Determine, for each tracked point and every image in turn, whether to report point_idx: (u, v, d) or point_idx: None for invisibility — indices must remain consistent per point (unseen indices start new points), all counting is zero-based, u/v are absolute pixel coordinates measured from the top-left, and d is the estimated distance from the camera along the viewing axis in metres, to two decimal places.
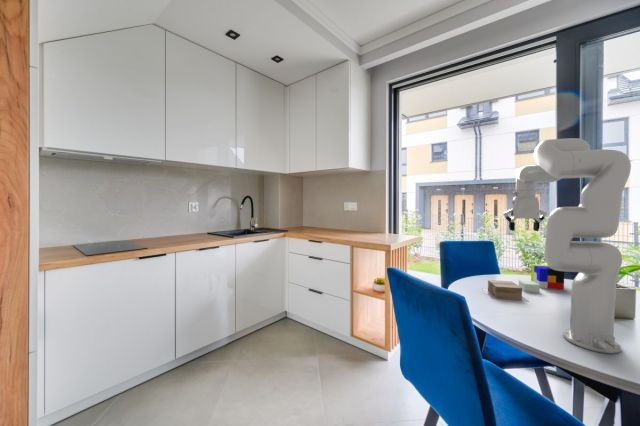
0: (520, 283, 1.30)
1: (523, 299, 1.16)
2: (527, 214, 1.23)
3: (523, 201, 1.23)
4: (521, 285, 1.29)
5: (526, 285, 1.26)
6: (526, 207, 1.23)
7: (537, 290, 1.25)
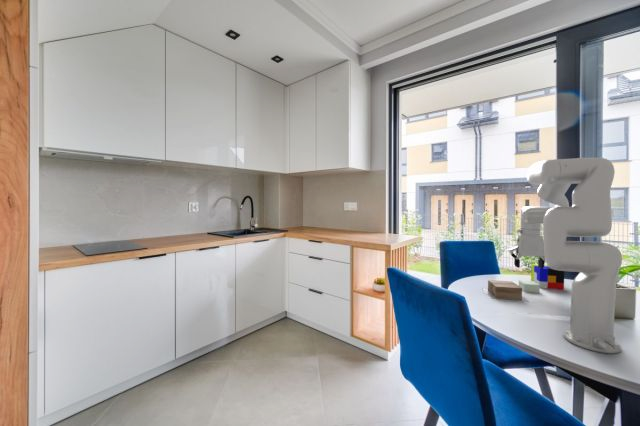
0: (520, 283, 1.30)
1: (523, 299, 1.16)
2: (532, 252, 1.25)
3: (528, 240, 1.25)
4: (521, 285, 1.29)
5: (526, 285, 1.26)
6: (531, 245, 1.25)
7: (537, 290, 1.25)
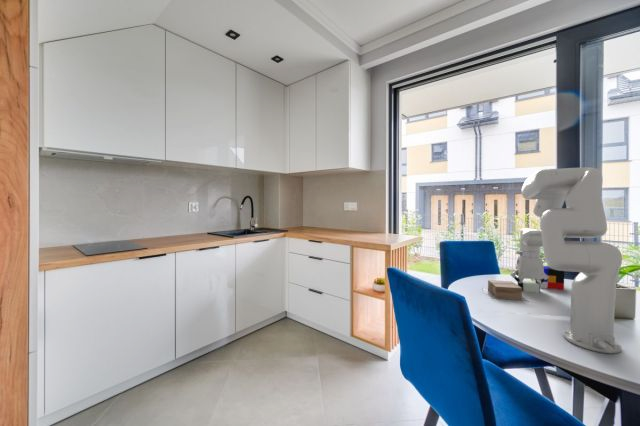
0: None
1: (523, 299, 1.16)
2: (532, 275, 1.26)
3: (528, 262, 1.26)
4: None
5: (526, 285, 1.26)
6: (530, 268, 1.26)
7: (537, 290, 1.25)
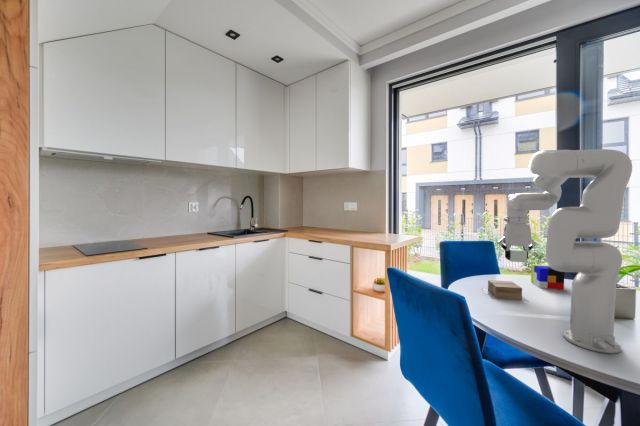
0: None
1: (523, 299, 1.16)
2: (519, 241, 1.21)
3: (515, 228, 1.22)
4: None
5: (513, 252, 1.22)
6: (518, 234, 1.21)
7: (524, 257, 1.21)
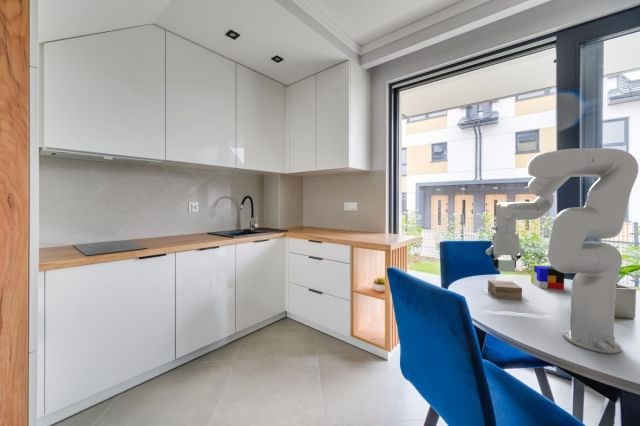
0: None
1: (523, 299, 1.16)
2: (507, 251, 1.19)
3: (503, 238, 1.19)
4: None
5: (501, 261, 1.20)
6: (506, 243, 1.19)
7: (512, 266, 1.19)
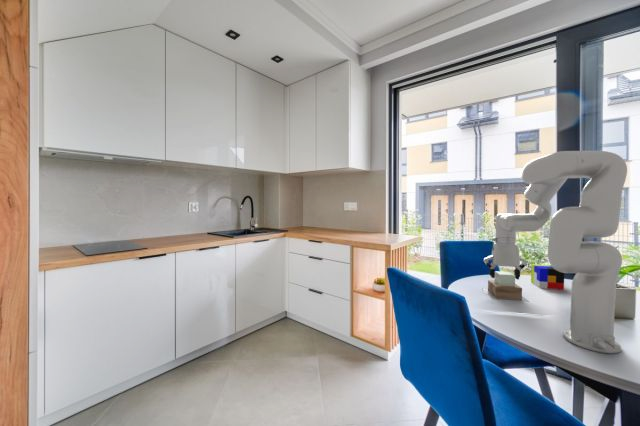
0: (496, 274, 1.24)
1: (523, 299, 1.16)
2: (507, 262, 1.19)
3: (503, 249, 1.19)
4: (497, 276, 1.23)
5: (501, 276, 1.20)
6: (506, 255, 1.19)
7: (513, 281, 1.19)
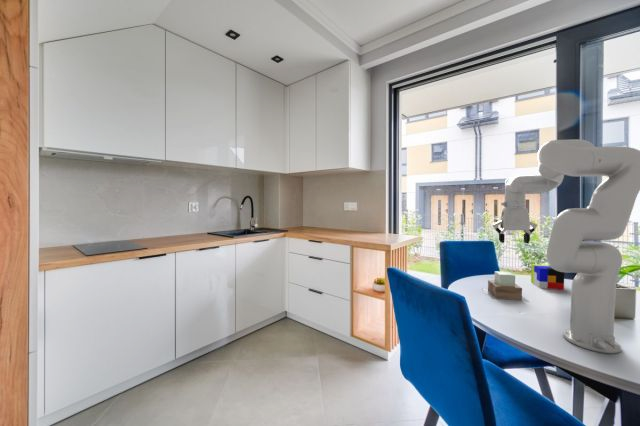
0: (496, 274, 1.24)
1: (523, 299, 1.16)
2: (517, 226, 1.18)
3: (513, 213, 1.19)
4: (497, 276, 1.23)
5: (501, 276, 1.20)
6: (516, 218, 1.18)
7: (513, 281, 1.19)
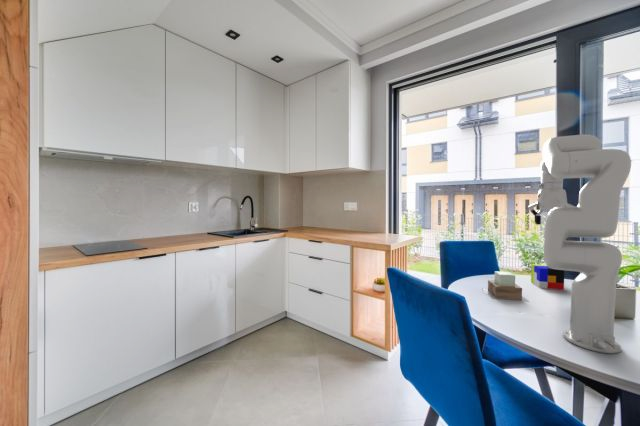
0: (496, 274, 1.24)
1: (523, 299, 1.16)
2: (554, 207, 1.19)
3: (550, 194, 1.19)
4: (497, 276, 1.23)
5: (501, 276, 1.20)
6: (553, 200, 1.19)
7: (513, 281, 1.19)
